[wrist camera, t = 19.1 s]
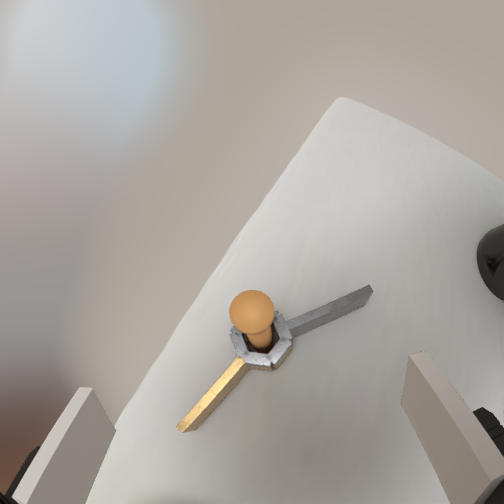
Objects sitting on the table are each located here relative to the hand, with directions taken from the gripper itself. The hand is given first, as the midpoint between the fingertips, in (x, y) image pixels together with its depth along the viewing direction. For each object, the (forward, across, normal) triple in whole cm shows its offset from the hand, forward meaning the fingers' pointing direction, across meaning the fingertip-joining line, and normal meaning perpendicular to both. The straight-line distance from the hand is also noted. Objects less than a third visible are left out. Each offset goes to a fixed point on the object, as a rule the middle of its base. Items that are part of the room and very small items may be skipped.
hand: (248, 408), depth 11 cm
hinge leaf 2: (+32, +6, -16) cm, 36 cm away
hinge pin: (+31, -1, -17) cm, 35 cm away
